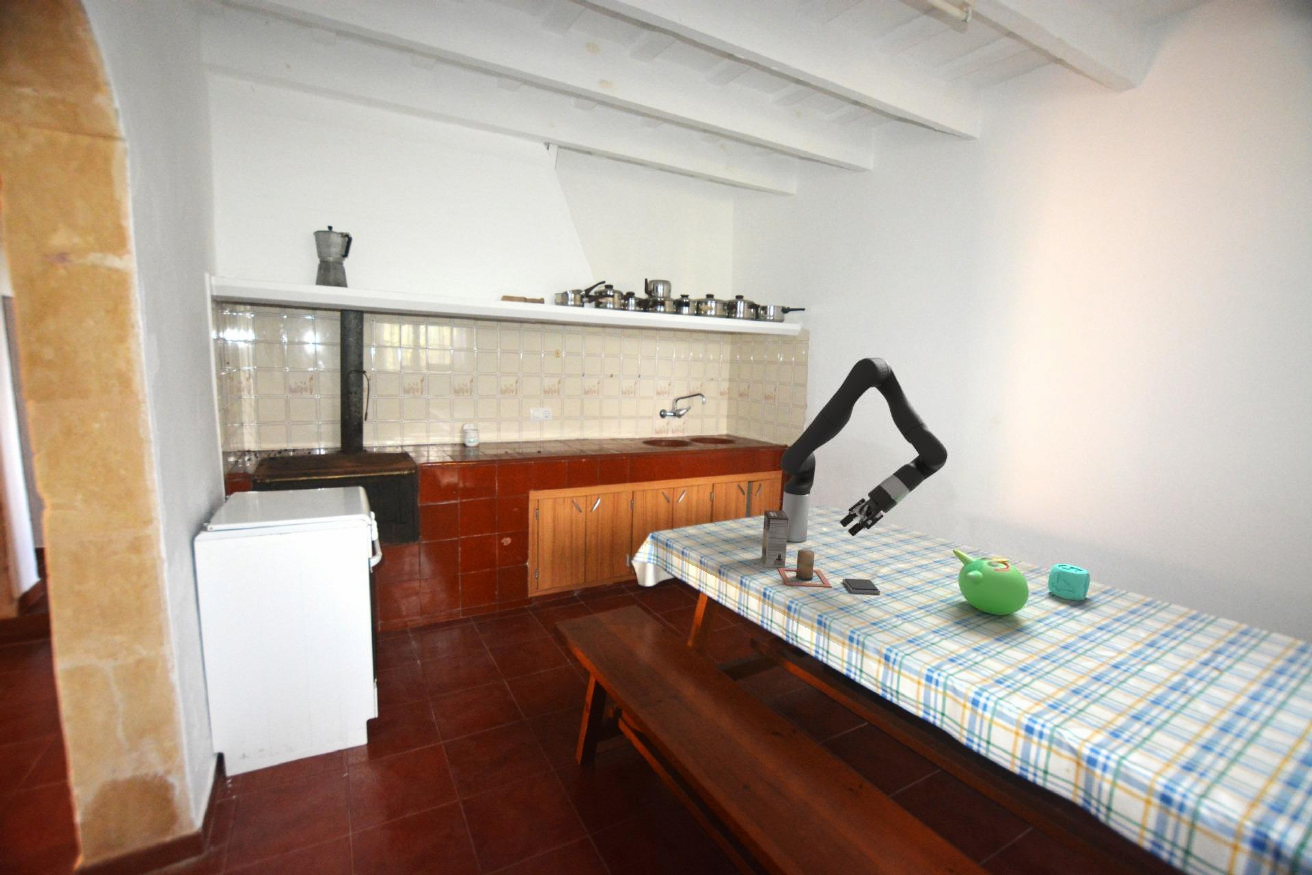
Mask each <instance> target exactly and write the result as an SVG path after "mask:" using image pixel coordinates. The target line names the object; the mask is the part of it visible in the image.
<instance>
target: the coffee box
mask: <svg viewBox="0 0 1312 875" xmlns="http://www.w3.org/2000/svg"><path fill="white" fill-rule="evenodd" d="M763 515H764V516H763V528H762V532H763V533H762V542H761V544H762V546H761V558H762V561H763V564H764V565H765V567H767V568H786V556H787V545H788V541H787V535H788V522H789V518H788V517H787V515H786V514H785V512H784V511H783V510H771V509H770V510H766V509H764V514H763Z"/></svg>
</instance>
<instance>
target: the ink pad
mask: <svg viewBox="0 0 1312 875" xmlns="http://www.w3.org/2000/svg"><path fill="white" fill-rule="evenodd" d="M842 583H843V585H844V586H845V587H846V589H847V590H848V591H849V593H850V594H863V595H864V594H865V595H880V594H881V590H880V589H879V588H878V587H877V586H876V584H874V582H872V580H871V579H862V578H861V579H860V578H842Z"/></svg>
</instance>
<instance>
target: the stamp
mask: <svg viewBox="0 0 1312 875" xmlns="http://www.w3.org/2000/svg"><path fill="white" fill-rule="evenodd" d="M796 556H797V560H796V569H797V570H796V571H795V573H796V574H795V578H796V579H797V580H799V581H803V582H810V581H813V579H814V578H813V577H814V572H813V569H814V564H815V552H814V551H813V550H810V549H806V548H805V549H804V548H803V549H798V550H797V555H796Z"/></svg>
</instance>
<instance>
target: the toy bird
mask: <svg viewBox="0 0 1312 875" xmlns="http://www.w3.org/2000/svg"><path fill="white" fill-rule="evenodd" d="M952 552H953V554H954V555H955V557H956V558H957V559H958V560H959V561H960V562H961V564H963V565H962V567H961V568H960V570H959V574H958V578H957V580H958V587H959V590H960V593H961V594H962V596H963V597H964V599H965V600H966V601H967V603H969V604H970V605H971V606H972V607H974V608H976V609H977V610H979V611H981V612H984V613H988V614H990V615H999V616H1002V615H1004V616H1006V615H1010V614H1011V615H1012V614H1014V613H1017V612H1019V611H1020V610H1021V609H1023V607H1025V605H1026V604H1027V602H1028V601H1029V600H1028V599H1029V593H1030V592H1029V585H1028V581H1027V580H1026V578H1025V576H1024V575H1023V573H1022V572H1021V571H1020V570H1019V569H1018V568H1017V567H1016V566H1014V565H1013V564H1011V563H1010V561H1011V559H1008V558H995V557H994V558H993V557H979V558H978V557H977V558H974V557H972V556H970V555H968V554H967V553H964V552H962V551H960V550H958V549H953V550H952Z"/></svg>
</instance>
